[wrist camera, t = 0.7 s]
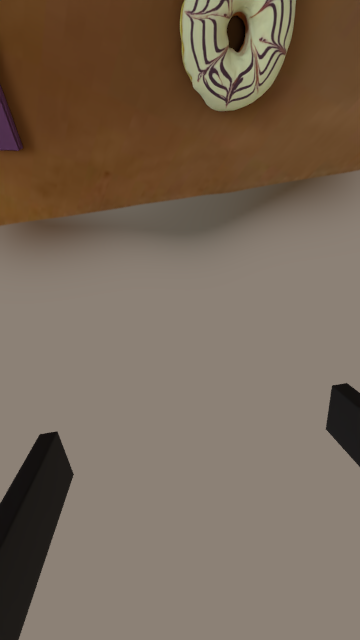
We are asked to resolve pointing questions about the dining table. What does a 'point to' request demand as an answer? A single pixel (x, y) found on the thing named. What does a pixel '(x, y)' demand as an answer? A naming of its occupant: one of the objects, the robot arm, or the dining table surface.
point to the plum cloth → (7, 127)
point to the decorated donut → (223, 62)
